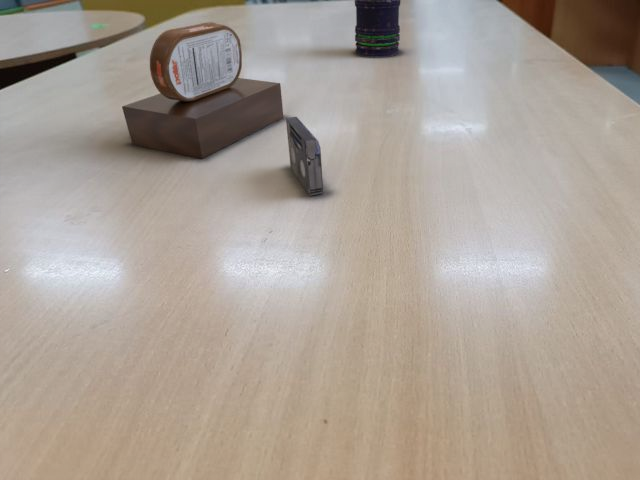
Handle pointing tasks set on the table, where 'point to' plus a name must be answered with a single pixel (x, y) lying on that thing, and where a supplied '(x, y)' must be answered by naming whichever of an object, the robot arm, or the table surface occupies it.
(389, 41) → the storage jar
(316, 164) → the mini dv tape
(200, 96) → the tin
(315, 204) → the table surface
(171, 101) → the block
